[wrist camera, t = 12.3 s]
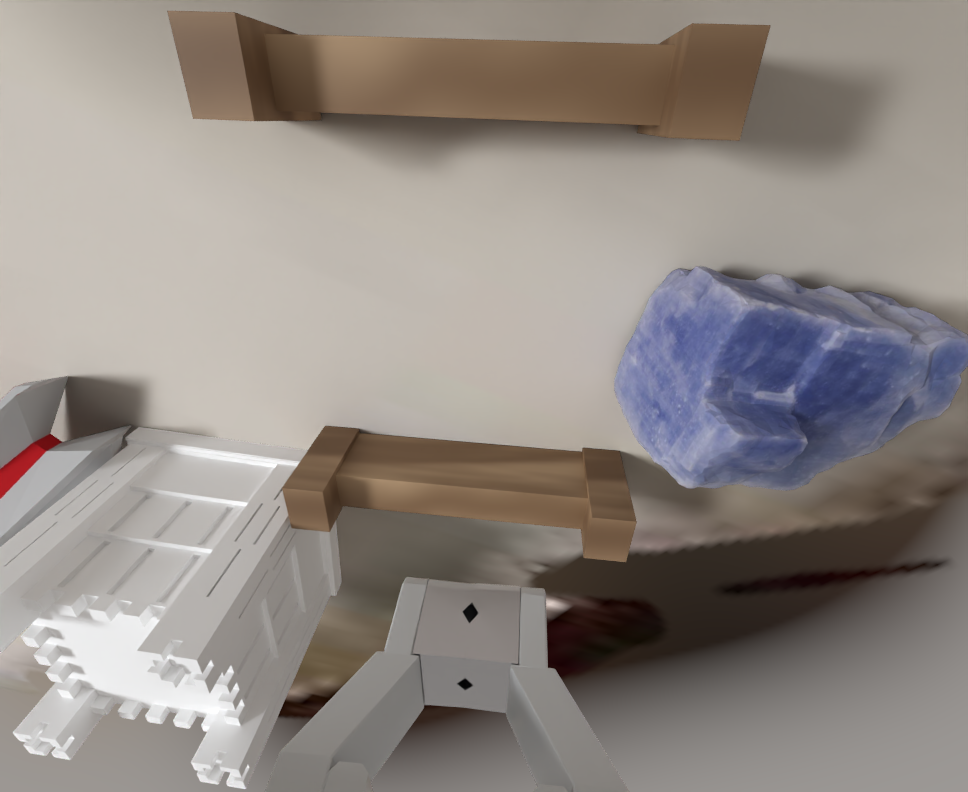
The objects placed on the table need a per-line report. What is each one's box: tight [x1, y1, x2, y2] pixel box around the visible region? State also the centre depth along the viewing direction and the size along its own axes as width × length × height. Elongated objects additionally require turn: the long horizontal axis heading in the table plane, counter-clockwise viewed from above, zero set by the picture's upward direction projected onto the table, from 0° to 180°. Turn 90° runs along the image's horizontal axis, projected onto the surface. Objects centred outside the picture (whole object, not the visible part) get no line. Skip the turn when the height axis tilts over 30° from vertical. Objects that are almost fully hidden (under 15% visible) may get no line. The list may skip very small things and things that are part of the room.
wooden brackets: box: [168, 11, 770, 562], centre depth 25 cm, size 25×20×6 cm
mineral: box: [614, 266, 968, 491], centre depth 24 cm, size 14×10×10 cm
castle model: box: [0, 427, 342, 789], centre depth 31 cm, size 14×14×15 cm
